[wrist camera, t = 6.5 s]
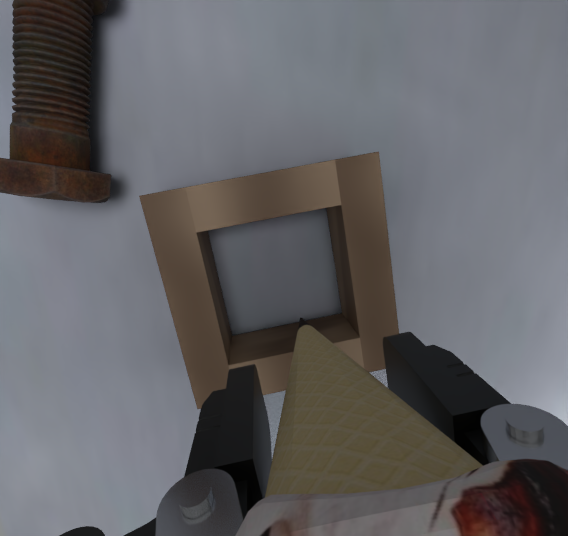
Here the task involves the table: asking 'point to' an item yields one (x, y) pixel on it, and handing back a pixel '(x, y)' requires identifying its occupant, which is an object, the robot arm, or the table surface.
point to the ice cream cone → (387, 465)
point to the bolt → (52, 103)
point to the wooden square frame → (259, 206)
